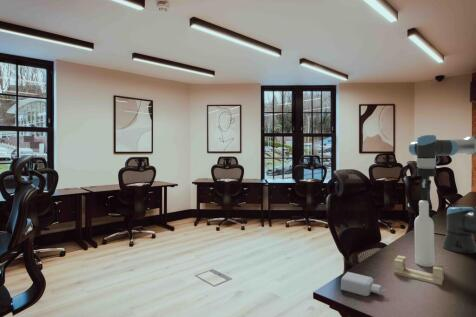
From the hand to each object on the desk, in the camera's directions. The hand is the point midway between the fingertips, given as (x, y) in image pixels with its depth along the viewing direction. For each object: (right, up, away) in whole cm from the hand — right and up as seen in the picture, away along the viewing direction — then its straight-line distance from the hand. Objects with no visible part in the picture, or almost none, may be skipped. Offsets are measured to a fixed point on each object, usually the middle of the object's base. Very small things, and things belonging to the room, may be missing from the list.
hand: (425, 217), depth 141 cm
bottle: (-1, -21, -1) cm, 21 cm away
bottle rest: (-12, -22, -15) cm, 29 cm away
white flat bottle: (-41, -22, -29) cm, 55 cm away
